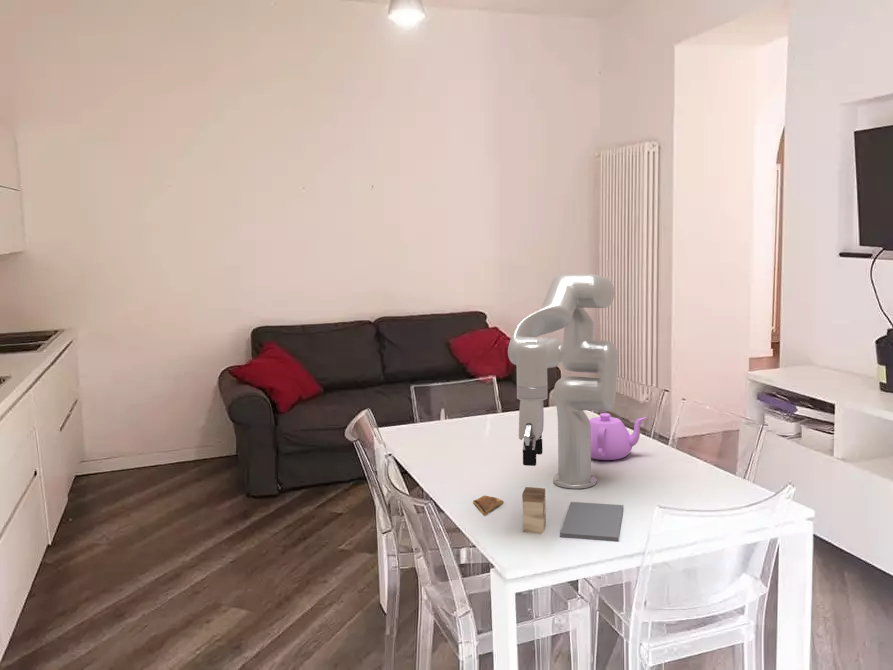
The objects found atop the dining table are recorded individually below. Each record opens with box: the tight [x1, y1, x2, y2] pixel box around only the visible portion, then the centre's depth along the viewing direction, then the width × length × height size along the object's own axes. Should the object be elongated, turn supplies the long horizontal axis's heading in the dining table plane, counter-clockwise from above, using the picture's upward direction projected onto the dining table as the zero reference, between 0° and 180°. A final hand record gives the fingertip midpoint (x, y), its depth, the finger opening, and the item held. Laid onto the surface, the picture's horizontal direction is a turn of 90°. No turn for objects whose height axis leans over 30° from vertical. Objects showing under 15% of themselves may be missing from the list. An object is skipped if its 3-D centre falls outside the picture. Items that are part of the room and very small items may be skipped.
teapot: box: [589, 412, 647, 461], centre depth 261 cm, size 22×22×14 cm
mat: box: [559, 501, 624, 542], centre depth 207 cm, size 22×14×1 cm, turn 165°
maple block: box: [522, 486, 547, 534], centre depth 203 cm, size 5×5×10 cm
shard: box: [472, 495, 504, 516], centre depth 220 cm, size 11×8×2 cm
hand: (532, 459), depth 201 cm, fingers open, 9 cm apart
